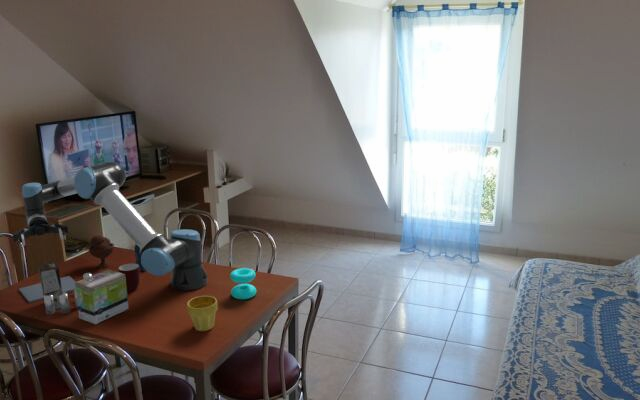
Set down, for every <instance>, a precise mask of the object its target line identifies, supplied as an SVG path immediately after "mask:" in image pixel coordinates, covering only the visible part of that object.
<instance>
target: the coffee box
mask: <svg viewBox="0 0 640 400" xmlns="http://www.w3.org/2000/svg"><path fill="white" fill-rule="evenodd" d="M37 266H38V272H39V277H40V283H41V285H42V291H43V296H44V295H46V294H53V298H54V305H55V310H57V309H60V303H59V296H58V295H59V294H60V293H62V287H61V280H60V278H61V276H60V275H61V273H60V268H59V267H60V266H58V264H57V262H56V261H51V262H46V263H40V264H38V265H37ZM43 302H44V301H43ZM44 304H45V302H44Z"/></svg>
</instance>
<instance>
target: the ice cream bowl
mask: <svg viewBox="0 0 640 400" xmlns="http://www.w3.org/2000/svg"><path fill="white" fill-rule="evenodd" d="M89 243H90V246H88V252H89V254H90V255H92V256H93V257H94V258H97V259H100V263H99V264H97V268H98V269H106V267H107V268H109V267H110V266H111V264H110V263H109V262H106V258H107V257H109V256H110V255H111V254H112V253H113V252H114V247H115V246H114V245H115V244H114V243H112V242H111V239H110V238H108V237H106V236H102V235H101V234H96V235H93V236H92V237H91V239H90V241H89ZM108 266H109V267H108Z"/></svg>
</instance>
